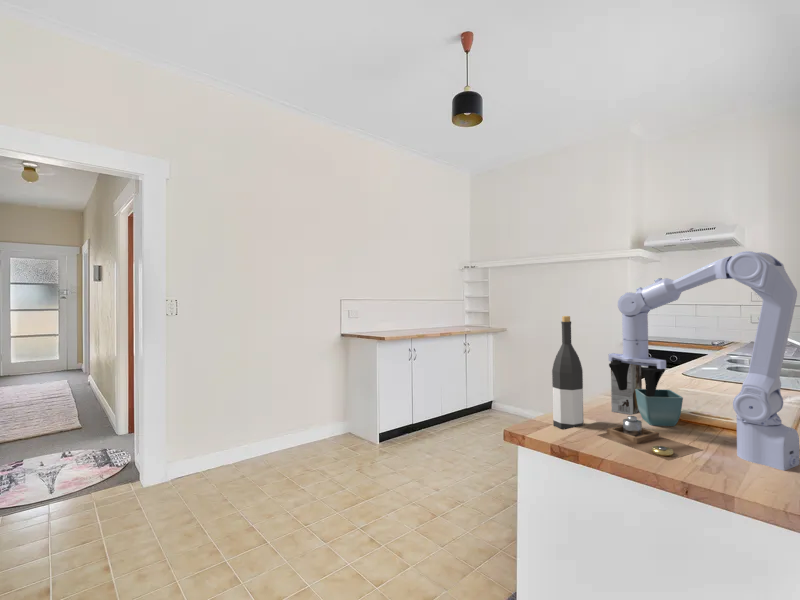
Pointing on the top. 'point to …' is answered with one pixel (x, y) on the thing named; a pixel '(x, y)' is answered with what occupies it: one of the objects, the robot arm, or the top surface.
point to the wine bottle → (567, 383)
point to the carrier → (648, 442)
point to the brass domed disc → (662, 451)
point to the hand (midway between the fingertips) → (636, 392)
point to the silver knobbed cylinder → (632, 426)
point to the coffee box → (626, 391)
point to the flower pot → (659, 407)
